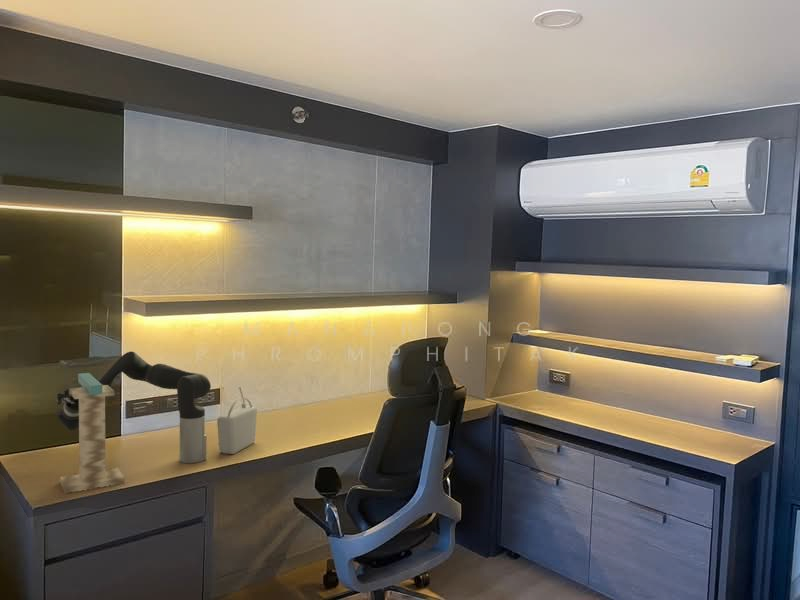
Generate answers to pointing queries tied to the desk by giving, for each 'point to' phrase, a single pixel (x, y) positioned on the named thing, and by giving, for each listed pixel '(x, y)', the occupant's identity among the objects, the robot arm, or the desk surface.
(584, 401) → the desk surface
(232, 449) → the white handbag
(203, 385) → the robot arm
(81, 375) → the bar
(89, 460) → the stand
